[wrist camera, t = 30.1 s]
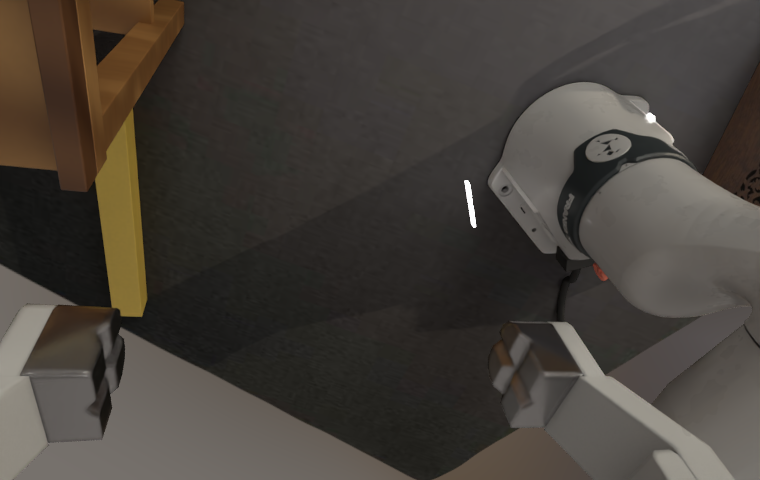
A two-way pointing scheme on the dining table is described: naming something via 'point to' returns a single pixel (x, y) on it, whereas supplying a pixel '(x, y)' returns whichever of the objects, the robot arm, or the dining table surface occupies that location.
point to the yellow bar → (122, 223)
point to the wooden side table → (75, 79)
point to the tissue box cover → (740, 148)
